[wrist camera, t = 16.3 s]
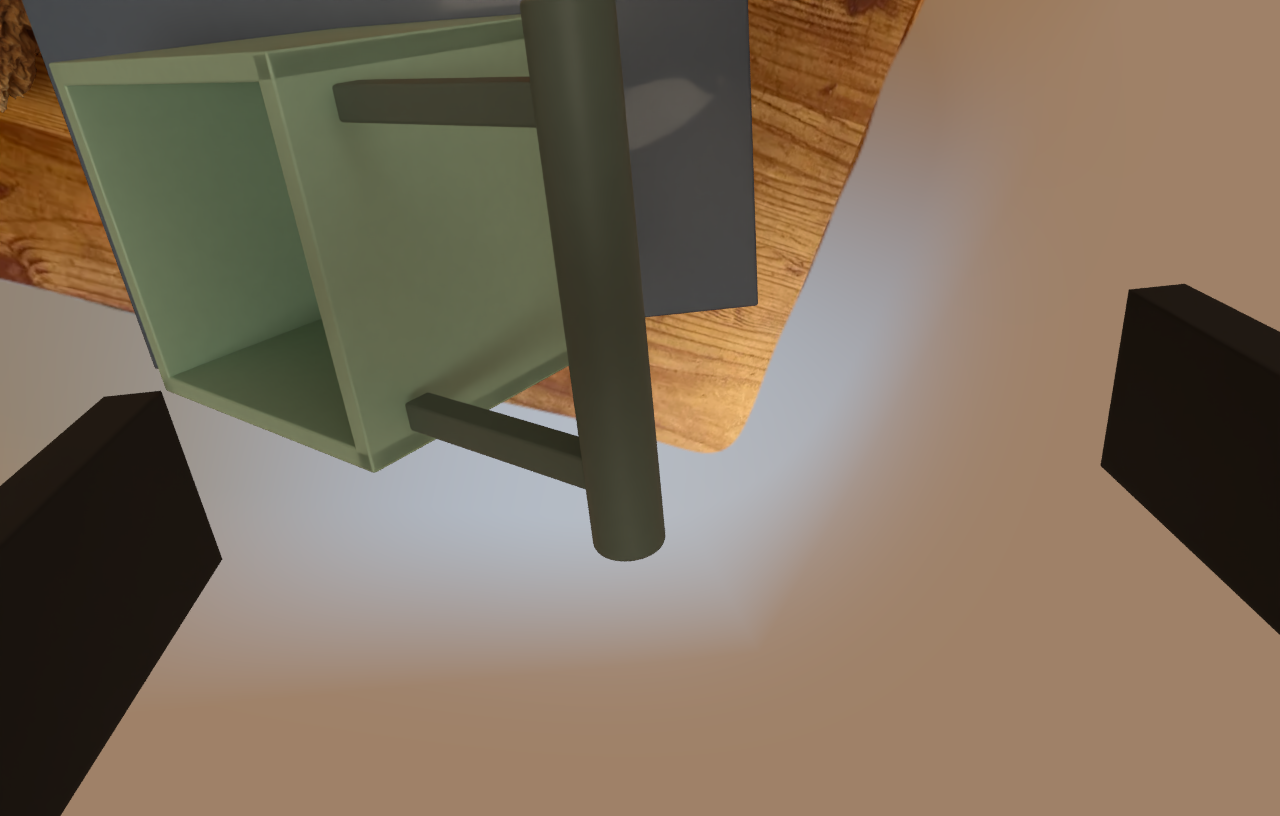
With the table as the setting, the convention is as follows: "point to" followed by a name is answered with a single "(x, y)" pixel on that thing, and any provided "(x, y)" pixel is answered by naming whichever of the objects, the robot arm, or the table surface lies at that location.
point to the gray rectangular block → (654, 101)
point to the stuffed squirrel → (16, 51)
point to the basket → (391, 239)
